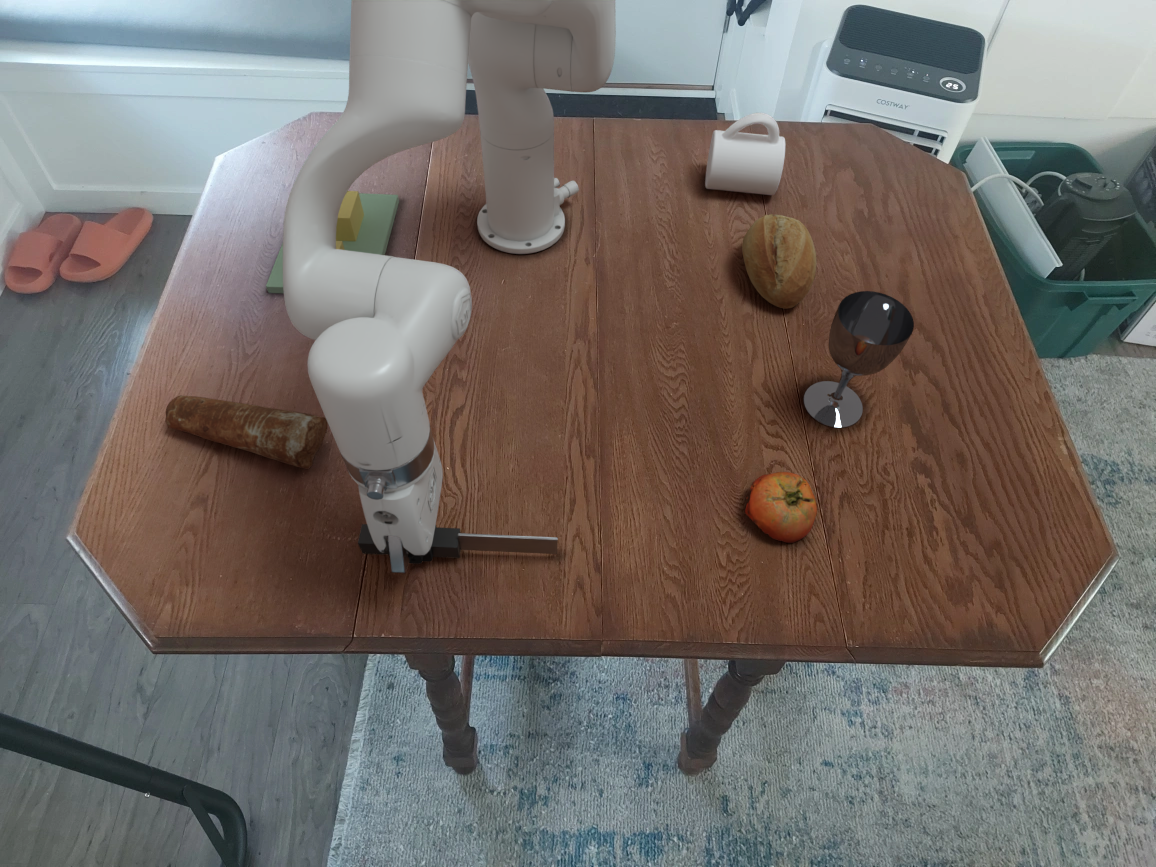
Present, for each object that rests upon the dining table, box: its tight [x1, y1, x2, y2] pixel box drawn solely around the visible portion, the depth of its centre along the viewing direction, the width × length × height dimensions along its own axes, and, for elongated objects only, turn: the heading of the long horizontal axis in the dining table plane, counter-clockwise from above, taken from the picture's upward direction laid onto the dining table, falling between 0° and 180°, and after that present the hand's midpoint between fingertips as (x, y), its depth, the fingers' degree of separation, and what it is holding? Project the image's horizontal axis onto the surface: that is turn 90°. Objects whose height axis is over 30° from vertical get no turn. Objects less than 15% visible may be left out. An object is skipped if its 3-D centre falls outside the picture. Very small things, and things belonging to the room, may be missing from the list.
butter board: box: [265, 190, 400, 295], centre depth 104 cm, size 20×14×5 cm
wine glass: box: [803, 290, 915, 429], centre depth 86 cm, size 8×8×15 cm
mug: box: [704, 112, 787, 196], centre depth 111 cm, size 8×10×12 cm
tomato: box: [744, 471, 818, 544], centre depth 82 cm, size 8×7×7 cm
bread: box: [165, 394, 329, 470], centre depth 85 cm, size 6×19×6 cm, turn 73°
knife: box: [357, 523, 559, 559], centre depth 77 cm, size 20×2×3 cm, turn 88°
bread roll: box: [741, 213, 817, 309], centre depth 101 cm, size 10×15×8 cm, turn 1°
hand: (419, 545), depth 78 cm, fingers closed on knife, 2 cm apart
